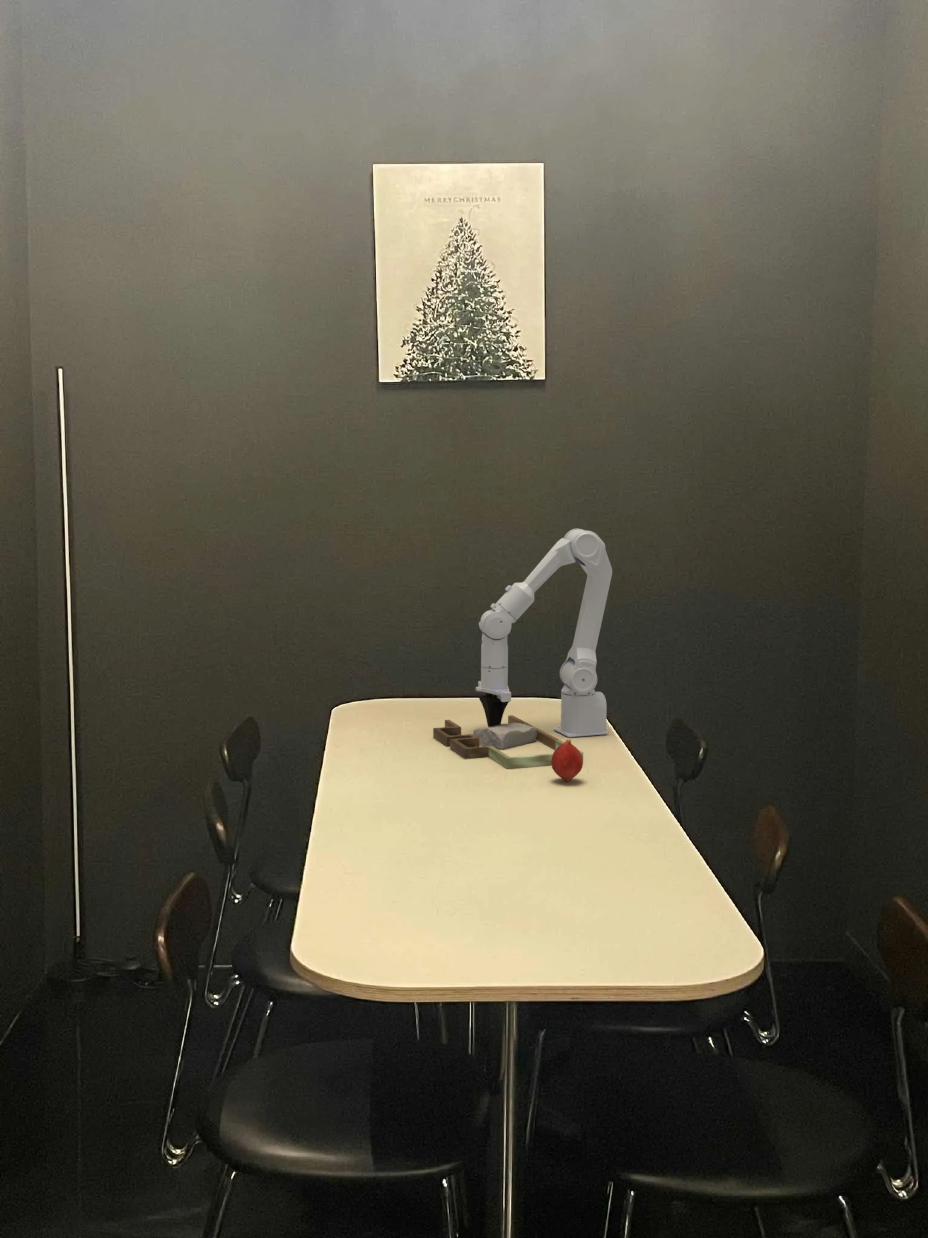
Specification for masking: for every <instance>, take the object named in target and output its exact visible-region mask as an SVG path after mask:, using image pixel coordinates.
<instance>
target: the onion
mask: <svg viewBox="0 0 928 1238" xmlns="http://www.w3.org/2000/svg"><path fill="white" fill-rule="evenodd" d="M563 742H564V743H563V744H562V745H560V746H559V747H558V748H557V749H556V750H554V751H553V753H552V754H553V755H552V760H551V764H552V765H551V769H552V770H553V772H554V773H555V774H556V775H557V776H558V777H559V778H561V779H562V780H563V781H564V782H566V783H567V782H568V783H569V782H571V781H572V780H573V778H575V777H576V776H577V775H579V773H580V772H581V771H582V768H583V765H584V757H583V758H582V755H581V753H580V751H581V750H580V751H579V748H577V747H576V746H575V745H574V744H572V742H571V739H570V738H568V739H566V740H565V741H563Z"/></svg>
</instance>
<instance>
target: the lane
mask: <svg viewBox="0 0 928 1238" xmlns="http://www.w3.org/2000/svg"><path fill="white" fill-rule="evenodd" d="M508 723H510V724H511V723H521V724H525V725H528V726H531V727H535V728H536V731H537V738H536V740H535V741H537V742H540V743H542V744H543V745H546V746H547V747H549V748H551V749H553V750H554V751H555V750H556V749H557V748H558V747H559V746H560V745H562V744H563V743H564V742H565V741H562V740H560V739H559V738H557V737H555V736H552V734H549V733H548V732H545V731H544V730H541V729H539V728H537V727H536V726H534V725H532V724H529V723H528V722H527V721H524V720H522V719H520V718H518V716H517V717H516V715H513V714H510V715H507V724H508ZM432 729H433V730H432V733H433V735H432V737H433V739H435V740H437V741H438V742H440V743H441V744H442V745H444V746H445V747H446V748H447V747H448V748H449V749H450V750H451V751H453V752H454V753H455V754H457V755H459V756H460V757H461V758H463V759H465V760H466V759H467V760H468V759H479V758H480V759H481V758H489V759H491V760H493V761H494V762H496V763H497V764H499V765H500V766H502V767H503V768H505V769H508V770H510V769H511V770H513V769H523V768H533V767H543V766H544V767H545V766H552V764H551V760H552V755H553V753H545V754H544V753H543V754H531V755H519V756H509V755H507V753H504V752H502V750H499V749H496V748H495V747H493V746H479V738H478V737H477V736H475V735H473V733H469V734H462V726H460V725H459V724H457V723H455V722H454V721H453V720H450V719H444V727H433V728H432ZM578 750H579V749H578ZM579 751H580V753H581V755H582V758H583V759H584V751H581V750H579Z"/></svg>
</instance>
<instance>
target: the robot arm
mask: <svg viewBox="0 0 928 1238" xmlns="http://www.w3.org/2000/svg"><path fill="white" fill-rule="evenodd" d="M576 562H578V564H579V565H580V566H581V568H582V569H583V571H584V572H585V574H586V582H585V586H584V590H583V595H582V598H581V599H582V600H581V604H580V609H579V613H578V619H577V623H576V628H575V632H574V636H573V637H574V638H573V642H572V645H571V647H570V649H569V650H568V652H567V655H566V656H567V657H566V660H565V661H564V662H563V663H562V665H561V667H560V669H559V678H560V680H561V682H562V683H563V684H564V685H563V687H562V688H561V690H560V691H561V694H560V695H561V697H560V727H553V731H555V732H558V733H559V734H561V735H563V736H565V737H568V738H576V737H586V736H587V737H589V736H601V735H608V734H609V732H608V731H607V707H608V706H607V705H608V704H607V699H606V695H604V693H603V692H602V691H596V690H595V689H596V686H597V684H598V674H597V669H596V668H597V663H598V662H597V661H598V660H597V654H596V650H597V646H598V640H599V636H600V631H601V627H602V623H603V618H604V612H605V609H606V605H607V600H608V595H609V592H610V591H609V589H610V584H611V580H612V576H613V568H612V565H611V561H610V560H609V556H608V553H607V550H606V543H605V542H604V541H603V540H602V539H601V538H600V537H599V535H598V534H597V533H596V532H594V531H591V530H585V529H582V528H573V529H571V530H568V531H567V533H565V535H564V536H563V538H562V537H561V538H560V539H559V540H557V542H556V543H555V544H554V545H553V546H552V547H551V548H550V550H549V551H548V552H547V553H546V554H545V556H543V558H542V559H541V560H540V562H539V563H538V564H537V565H536V567H534V569H533V570H532V571H531V572H530V573H529V575H528V576H527V577H526V578H525V579H524V581H522V582H514V583H513V584H512V585H507V586H506V587H505V588H504V590H505V592H504V594H503V595H502V596H501V597H500V598H499V599H498V601H496V603H491V605H490V606H489V607H490V608H491V609H489V610H487V611H485V612H484V613H482V615H481V617H480V621H479V622H478V626H479V630H480V631H481V632H482V633H481V645H480V646H481V647H480V653H481V655H480V656H481V657H480V658H481V659H480V680H478V681H477V682H478V683H477V685H478V686H476V687H475V691H476V692H481V693H482V692H483V693H485V695H479V696H478V699H479V701H480V702H481V705H482V708H483V711H484V713H485V719H486V724H487V728H488V727H492V726H496V725H500V724H502V721H503V716H504V713H505V710H506V709H507V706H508V704H509V702H512V692H511V691H510V687H509V685H508V684H509V683H508V682H509V680H508V677H509V675H508V674H509V645H508V635H509V634H510V633H511V630H512V624H514V623H516V622H517V621H518V619H520V617H522V615H523V614H524V613H525V612H526V611H527V610H528V609H529V607H530V606H531V605H533V603H534V602H535V592H537V591H538V589H540V587H542V586H543V584H544V583H545V582H547V580H548V579H550V577H551V576H552V575H553V574H554V573H555V572H556V571H557V570H558V569H560V568H561V567H562V566H567V565H571V564H575V563H576Z"/></svg>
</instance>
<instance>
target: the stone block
mask: <svg viewBox="0 0 928 1238" xmlns="http://www.w3.org/2000/svg"><path fill="white" fill-rule="evenodd" d="M535 727H536V726H534V727H531V726H528V725H525V724H521V723H511V724H510V723H508V722H507V723H501V724H500V725H496V726H492V727H488V726H487V727H483V728H475V730H473V733H472V734H473V735H475V736H477V737H478V738H479V747H481V746H493V747H495V748H496V749H498V750H499V751H502V750H508V749H512V748H516V747H520V746H523V745H527V744H531V743H533V742H535V741H537V740H536V738H537V731H536V728H537V727H536V728H535Z"/></svg>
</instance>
